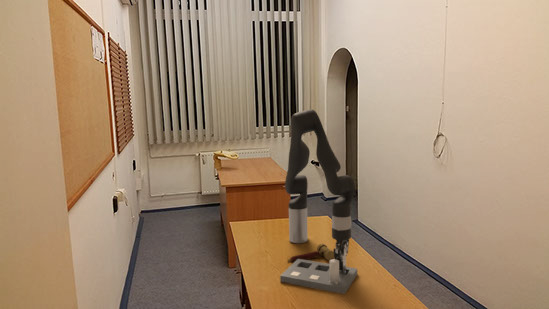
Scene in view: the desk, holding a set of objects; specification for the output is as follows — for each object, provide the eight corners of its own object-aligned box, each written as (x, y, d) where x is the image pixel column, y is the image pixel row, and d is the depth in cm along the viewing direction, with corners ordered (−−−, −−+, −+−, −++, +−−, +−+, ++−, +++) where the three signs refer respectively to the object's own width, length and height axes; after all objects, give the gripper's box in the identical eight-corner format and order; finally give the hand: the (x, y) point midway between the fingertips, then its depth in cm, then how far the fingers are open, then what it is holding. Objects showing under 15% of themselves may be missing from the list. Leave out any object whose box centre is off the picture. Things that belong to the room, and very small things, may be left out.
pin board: (298, 264, 176) (297, 241, 175) (357, 274, 165) (357, 249, 163) (280, 281, 160) (279, 256, 159) (344, 294, 149) (344, 267, 147)
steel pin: (338, 271, 165) (338, 247, 163) (347, 272, 163) (347, 249, 162) (335, 274, 162) (335, 250, 160) (344, 276, 160) (344, 252, 159)
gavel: (290, 259, 174) (283, 251, 183) (291, 270, 174) (284, 261, 184) (335, 250, 180) (325, 242, 189) (335, 259, 180) (326, 251, 190)
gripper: (337, 219, 167) (337, 259, 170) (326, 230, 155) (326, 273, 157) (355, 221, 164) (355, 262, 167) (345, 233, 152) (345, 276, 154)
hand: (341, 267), depth 162 cm, fingers closed on steel pin, 3 cm apart
